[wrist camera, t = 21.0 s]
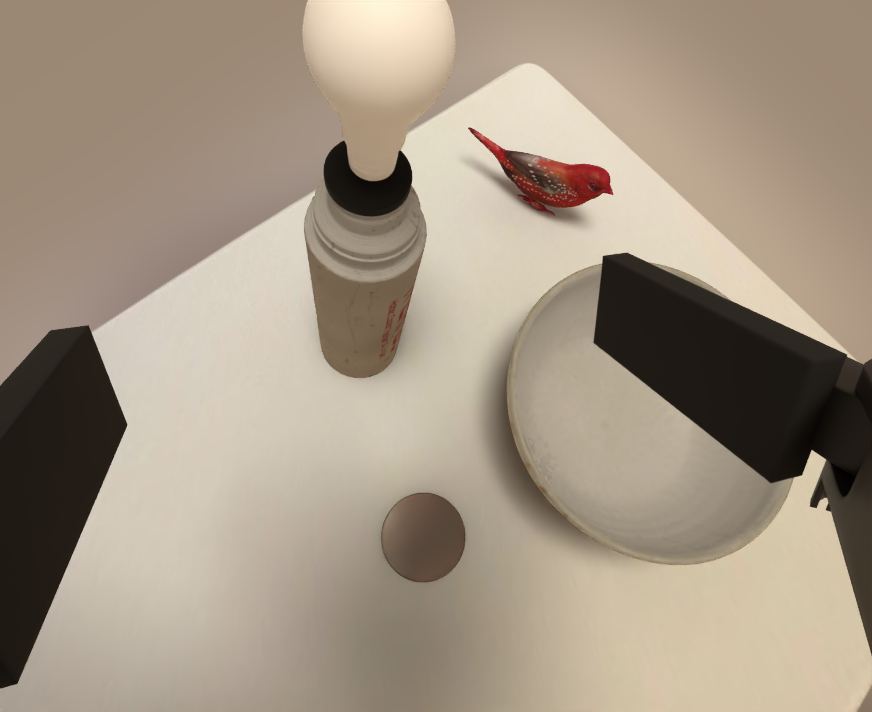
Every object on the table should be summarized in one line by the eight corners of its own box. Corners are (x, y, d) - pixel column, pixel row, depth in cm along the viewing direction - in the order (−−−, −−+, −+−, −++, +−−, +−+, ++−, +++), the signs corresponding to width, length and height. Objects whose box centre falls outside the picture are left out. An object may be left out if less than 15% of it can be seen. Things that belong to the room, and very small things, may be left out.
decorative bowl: (439, 497, 51) (465, 488, 40) (519, 275, 60) (559, 217, 49) (686, 598, 52) (781, 617, 40) (728, 363, 61) (814, 326, 50)
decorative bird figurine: (578, 241, 63) (618, 191, 54) (452, 171, 63) (470, 109, 54) (587, 224, 64) (628, 172, 55) (462, 155, 64) (481, 92, 55)
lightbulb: (406, 235, 28) (442, 60, 17) (296, 195, 27) (265, -8, 17) (440, 148, 30) (489, -53, 19) (338, 110, 29) (333, -115, 19)
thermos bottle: (412, 337, 56) (469, 168, 30) (364, 393, 53) (380, 261, 27) (354, 293, 56) (360, 88, 30) (304, 346, 54) (263, 171, 27)
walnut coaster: (368, 564, 48) (368, 564, 48) (398, 481, 51) (399, 480, 50) (448, 594, 48) (449, 594, 48) (474, 510, 51) (476, 509, 51)
